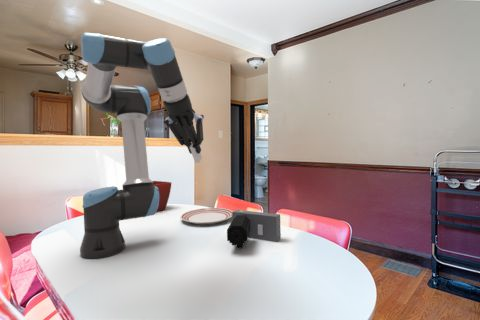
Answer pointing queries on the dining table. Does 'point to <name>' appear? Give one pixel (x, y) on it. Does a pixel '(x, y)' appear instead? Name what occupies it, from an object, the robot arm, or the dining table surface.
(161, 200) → the plant pot
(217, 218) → the dinner plate
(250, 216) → the charging block
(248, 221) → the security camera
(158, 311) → the dining table surface
